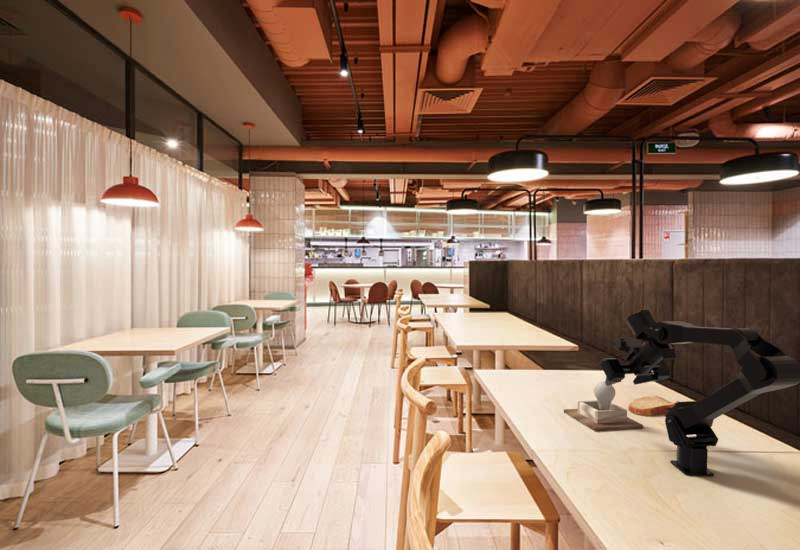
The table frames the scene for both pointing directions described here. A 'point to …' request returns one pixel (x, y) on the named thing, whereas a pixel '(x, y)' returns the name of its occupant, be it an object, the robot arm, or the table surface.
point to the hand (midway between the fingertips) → (620, 383)
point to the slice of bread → (650, 406)
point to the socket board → (602, 417)
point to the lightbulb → (604, 395)
